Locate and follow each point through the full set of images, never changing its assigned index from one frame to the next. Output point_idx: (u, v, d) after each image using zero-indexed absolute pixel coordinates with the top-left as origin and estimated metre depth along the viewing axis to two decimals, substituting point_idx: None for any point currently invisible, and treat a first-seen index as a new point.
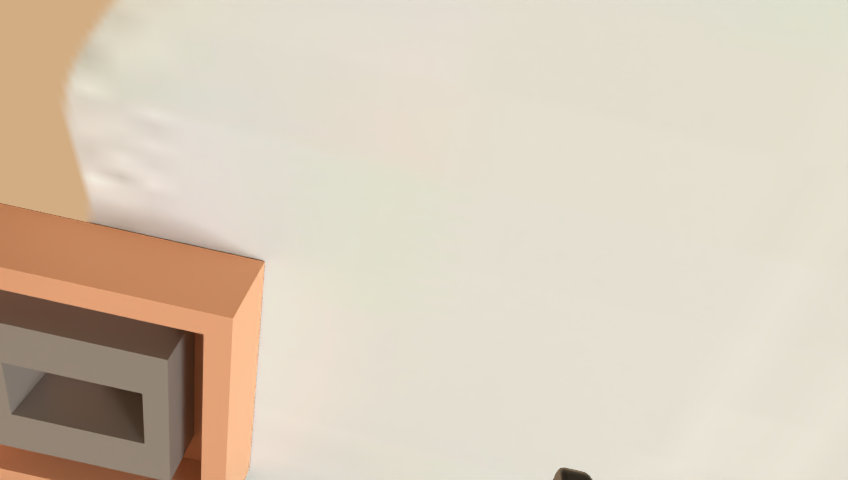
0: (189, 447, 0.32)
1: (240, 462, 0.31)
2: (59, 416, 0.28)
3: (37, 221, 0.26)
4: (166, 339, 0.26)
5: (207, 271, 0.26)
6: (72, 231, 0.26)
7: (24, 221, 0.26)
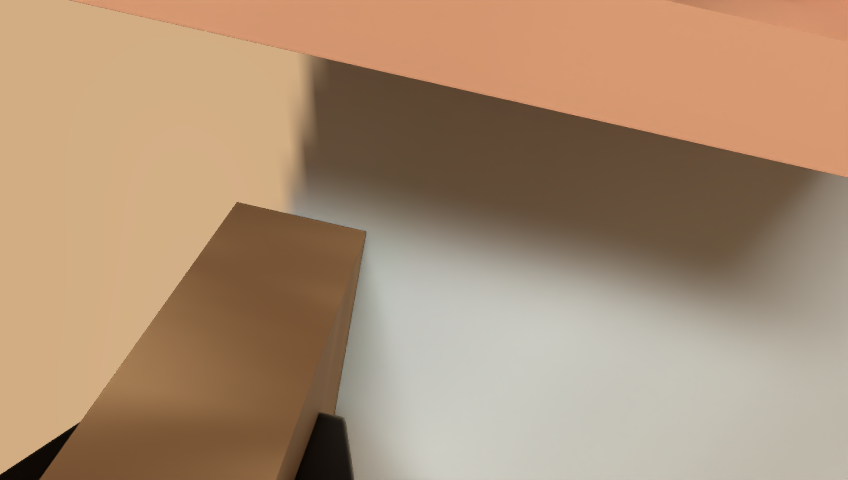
0: None
1: None
2: None
3: None
4: None
5: None
6: None
7: None
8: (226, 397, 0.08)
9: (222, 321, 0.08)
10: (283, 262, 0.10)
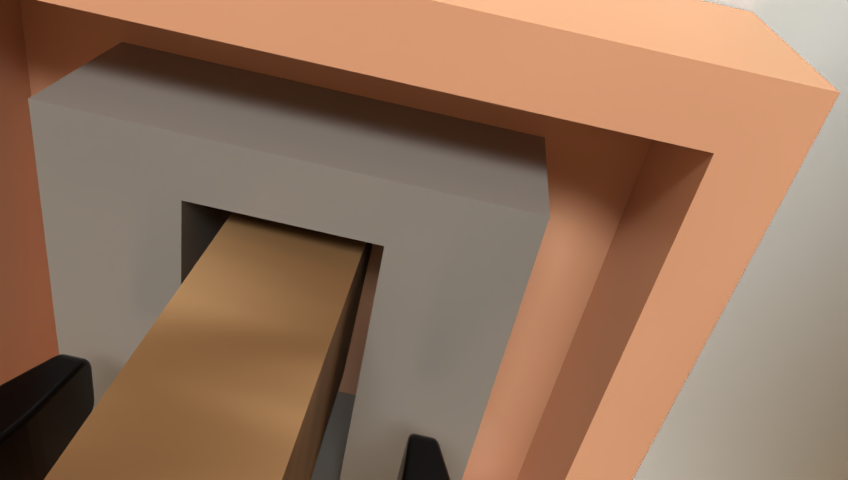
0: (591, 160, 0.11)
1: (621, 4, 0.09)
2: None
3: None
4: None
5: None
6: None
7: None
8: (271, 313, 0.09)
9: (263, 255, 0.10)
10: None
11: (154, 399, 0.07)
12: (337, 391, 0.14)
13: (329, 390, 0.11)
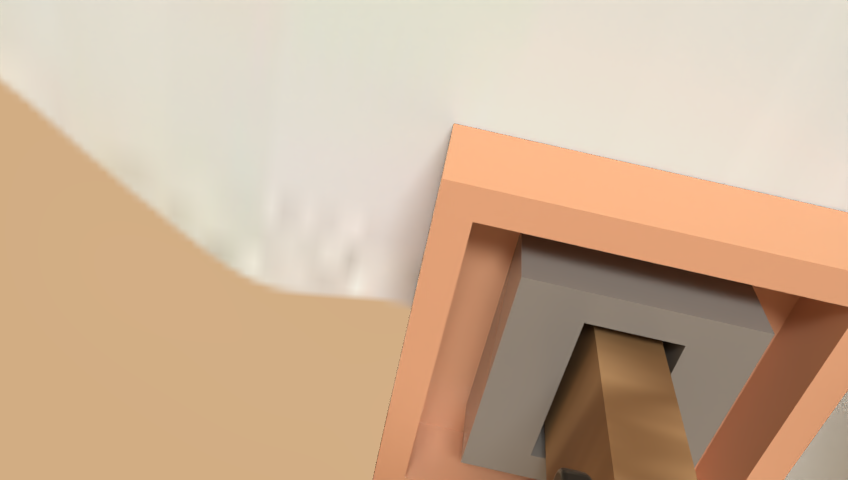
0: (773, 291, 0.21)
1: (805, 226, 0.19)
2: None
3: None
4: (516, 270, 0.20)
5: None
6: None
7: None
8: (644, 382, 0.18)
9: (622, 349, 0.19)
10: None
11: (626, 425, 0.17)
12: None
13: None
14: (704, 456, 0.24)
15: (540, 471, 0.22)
